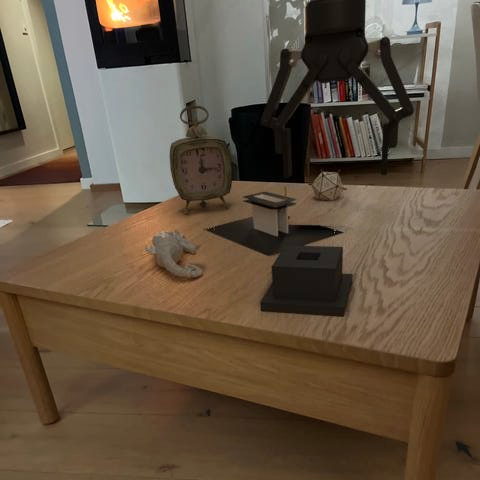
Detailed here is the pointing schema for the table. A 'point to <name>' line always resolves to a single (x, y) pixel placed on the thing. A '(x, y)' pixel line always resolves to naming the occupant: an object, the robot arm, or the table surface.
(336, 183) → the game die
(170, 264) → the seahorse
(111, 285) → the table surface
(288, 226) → the architectural model
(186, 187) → the tabletop clock
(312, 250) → the black square block
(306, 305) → the base pad
